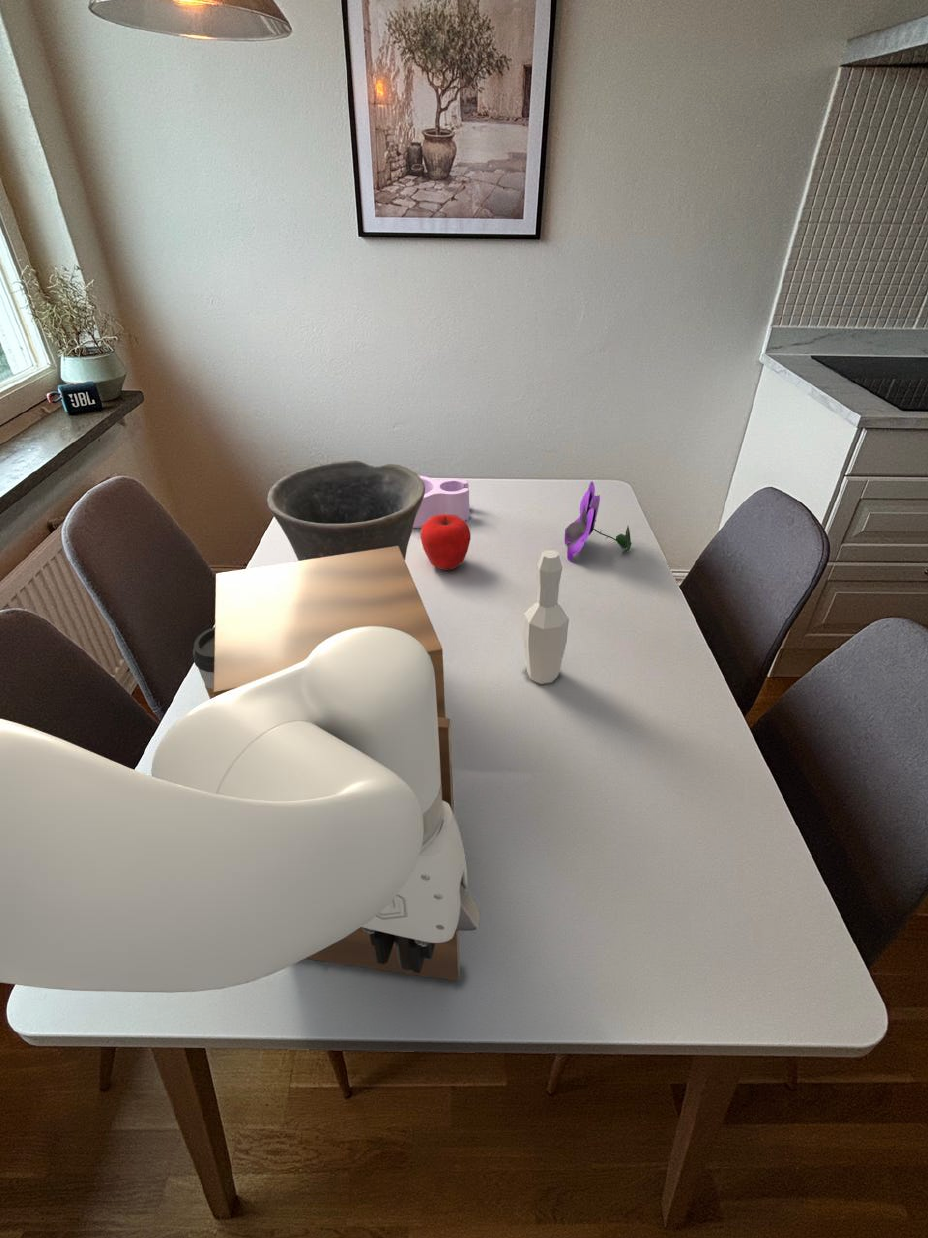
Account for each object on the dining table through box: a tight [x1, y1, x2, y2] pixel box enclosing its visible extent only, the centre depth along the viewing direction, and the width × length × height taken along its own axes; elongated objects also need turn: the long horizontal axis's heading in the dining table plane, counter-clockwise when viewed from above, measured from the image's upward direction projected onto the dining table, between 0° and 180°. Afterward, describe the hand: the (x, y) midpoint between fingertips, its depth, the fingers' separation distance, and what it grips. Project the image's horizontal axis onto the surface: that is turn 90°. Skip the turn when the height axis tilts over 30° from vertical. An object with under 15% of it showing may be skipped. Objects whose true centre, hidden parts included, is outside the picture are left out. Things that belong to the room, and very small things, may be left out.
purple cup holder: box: [412, 475, 470, 529], centre depth 152 cm, size 20×12×7 cm, turn 91°
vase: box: [266, 460, 425, 561], centre depth 104 cm, size 22×22×30 cm
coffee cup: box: [192, 626, 215, 700], centre depth 96 cm, size 8×8×15 cm
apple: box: [419, 514, 472, 571], centre depth 133 cm, size 10×10×11 cm
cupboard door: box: [305, 717, 461, 982], centre depth 58 cm, size 8×18×36 cm, turn 81°
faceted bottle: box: [522, 549, 570, 685], centre depth 102 cm, size 6×6×22 cm
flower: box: [564, 480, 632, 563], centre depth 137 cm, size 15×15×14 cm
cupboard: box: [214, 546, 447, 718], centre depth 71 cm, size 18×18×36 cm
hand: (404, 949), depth 55 cm, fingers closed on cupboard door, 2 cm apart
